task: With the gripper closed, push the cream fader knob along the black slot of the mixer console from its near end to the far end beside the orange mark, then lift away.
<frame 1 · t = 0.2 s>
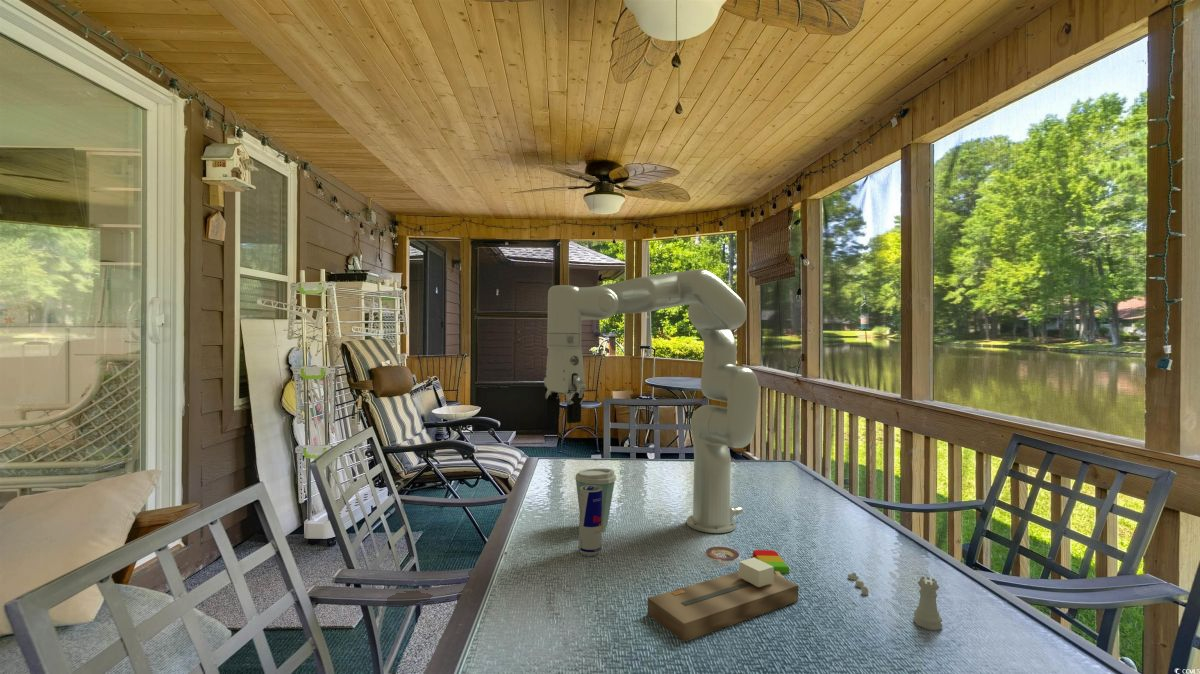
hand: (562, 419, 121), 31 cm above the table, tool pointing down, fingers open, 9 cm apart
popsicle: (773, 572, 118), on the table
rook chess piece: (927, 625, 96), on the table
game pieces: (858, 588, 111), on the table
disposable coffee cup: (594, 528, 141), on the table
console: (725, 607, 101), on the table
beverage can: (589, 553, 126), on the table
fader knob: (756, 571, 105), point 5 cm above the table, slide at -8.0 cm
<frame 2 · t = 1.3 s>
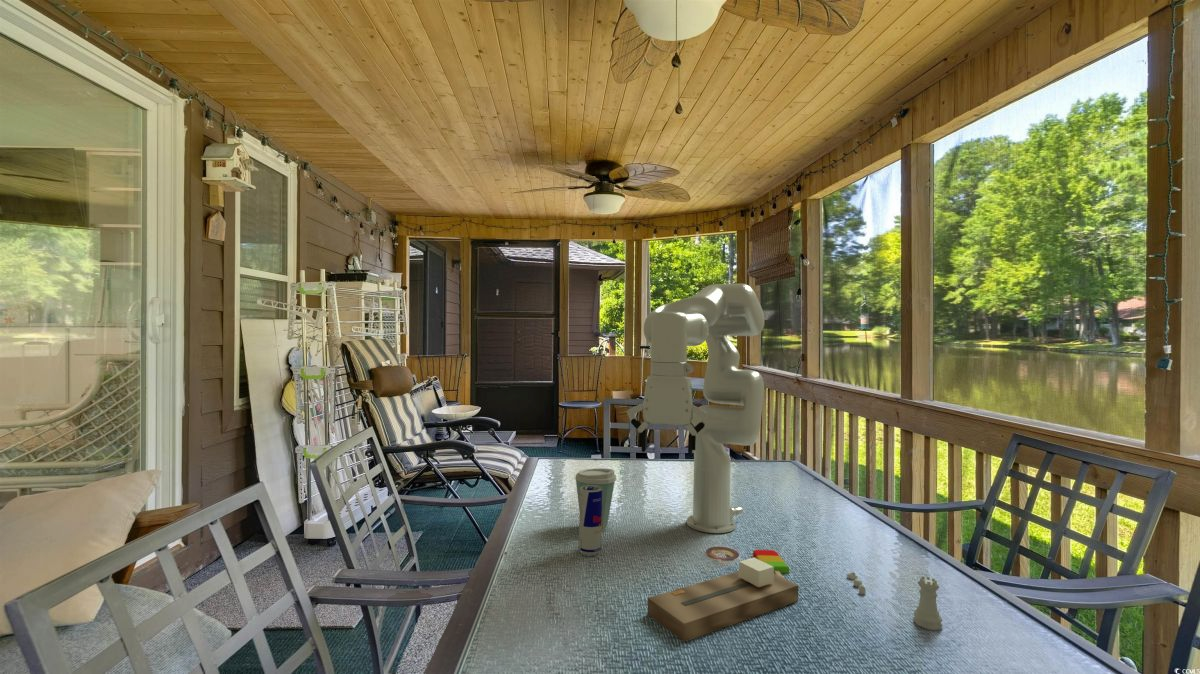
hand: (667, 452, 115), 25 cm above the table, tool pointing down, fingers open, 9 cm apart
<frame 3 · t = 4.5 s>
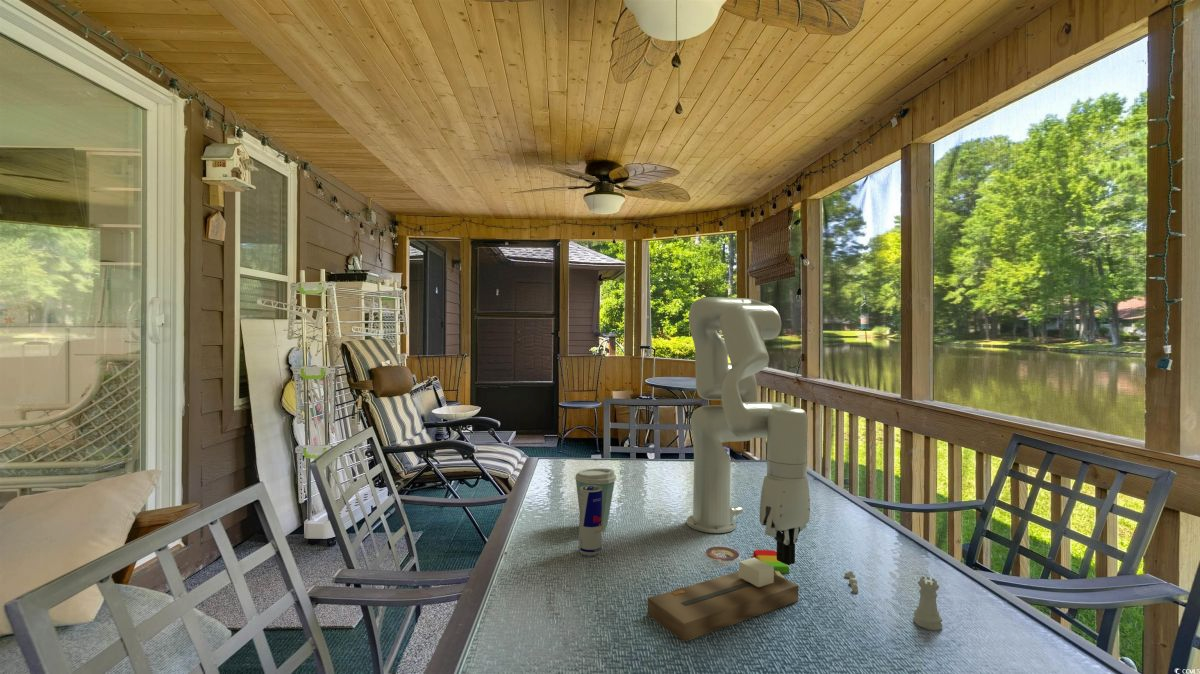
hand: (785, 561, 109), 5 cm above the table, tool pointing down, fingers closed
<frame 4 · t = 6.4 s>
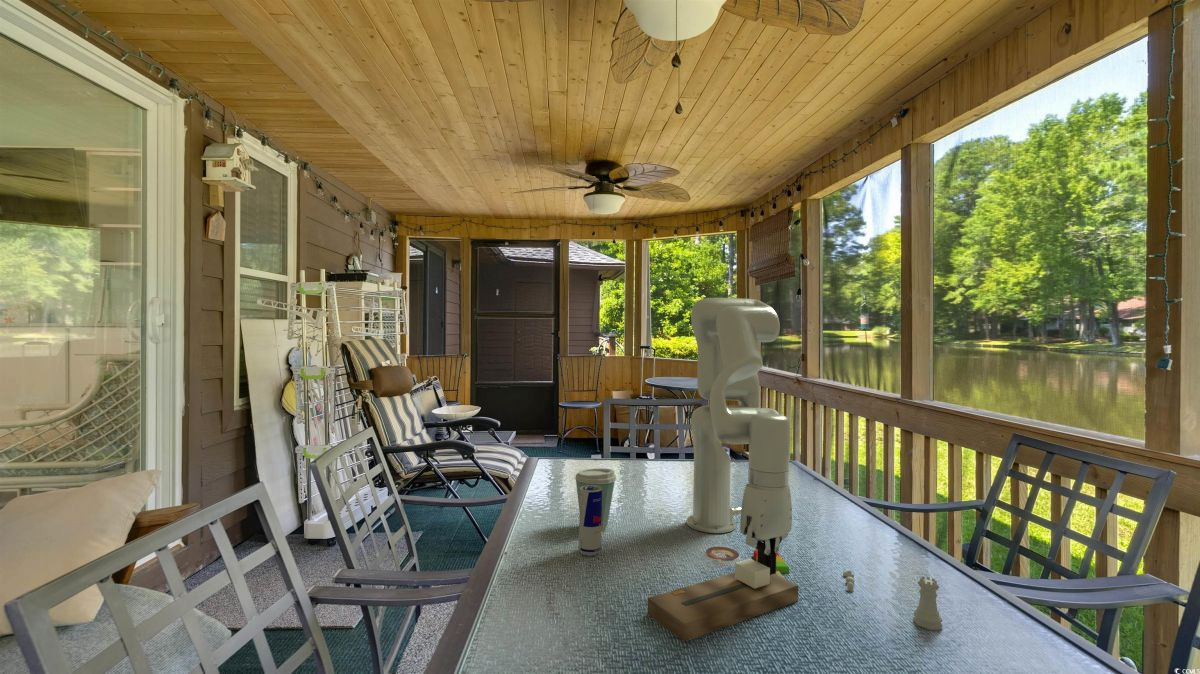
hand: (766, 571, 107), 4 cm above the table, tool pointing down, fingers closed
fader knob: (752, 573, 105), point 5 cm above the table, slide at -6.9 cm, touching gripper
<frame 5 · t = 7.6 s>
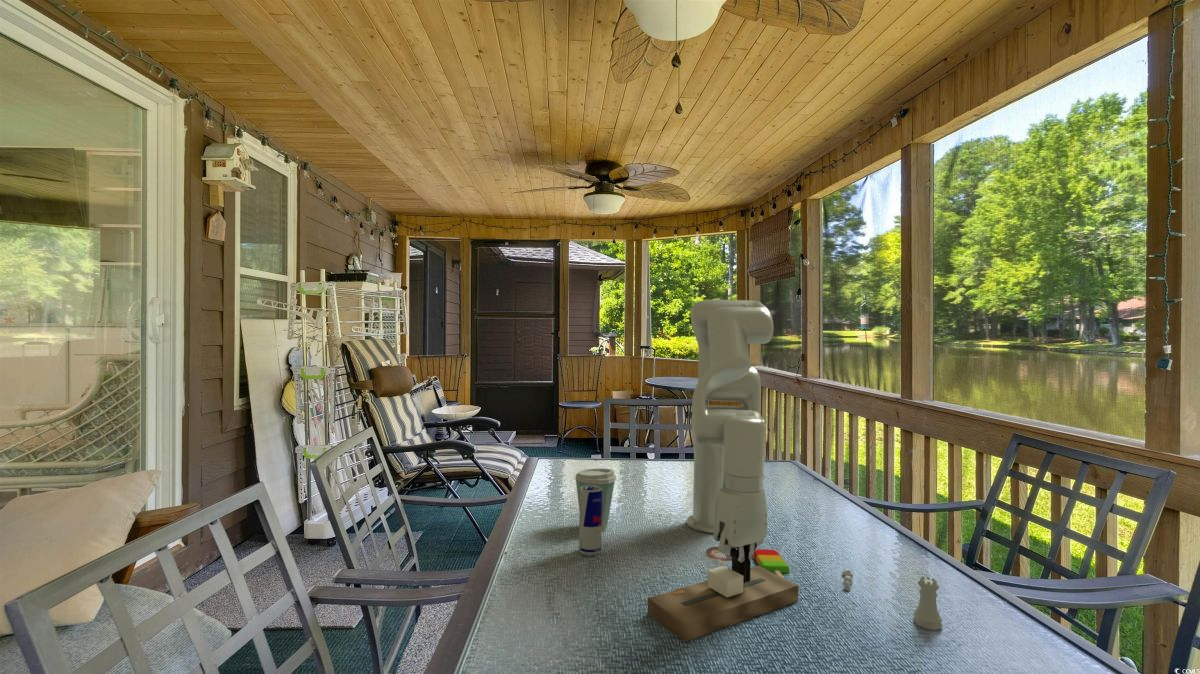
hand: (740, 579, 103), 4 cm above the table, tool pointing down, fingers closed
fader knob: (725, 581, 101), point 5 cm above the table, slide at 0.0 cm, touching gripper
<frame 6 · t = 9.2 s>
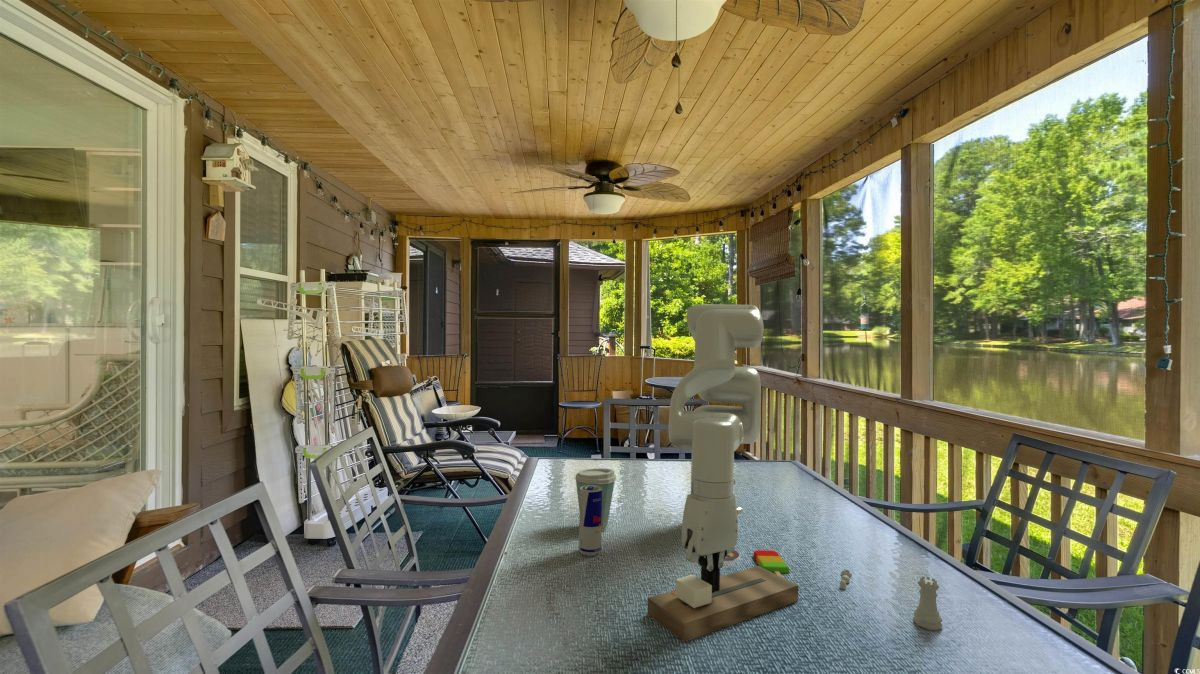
hand: (710, 588, 99), 4 cm above the table, tool pointing down, fingers closed
fader knob: (693, 590, 97), point 5 cm above the table, slide at 7.7 cm, touching gripper
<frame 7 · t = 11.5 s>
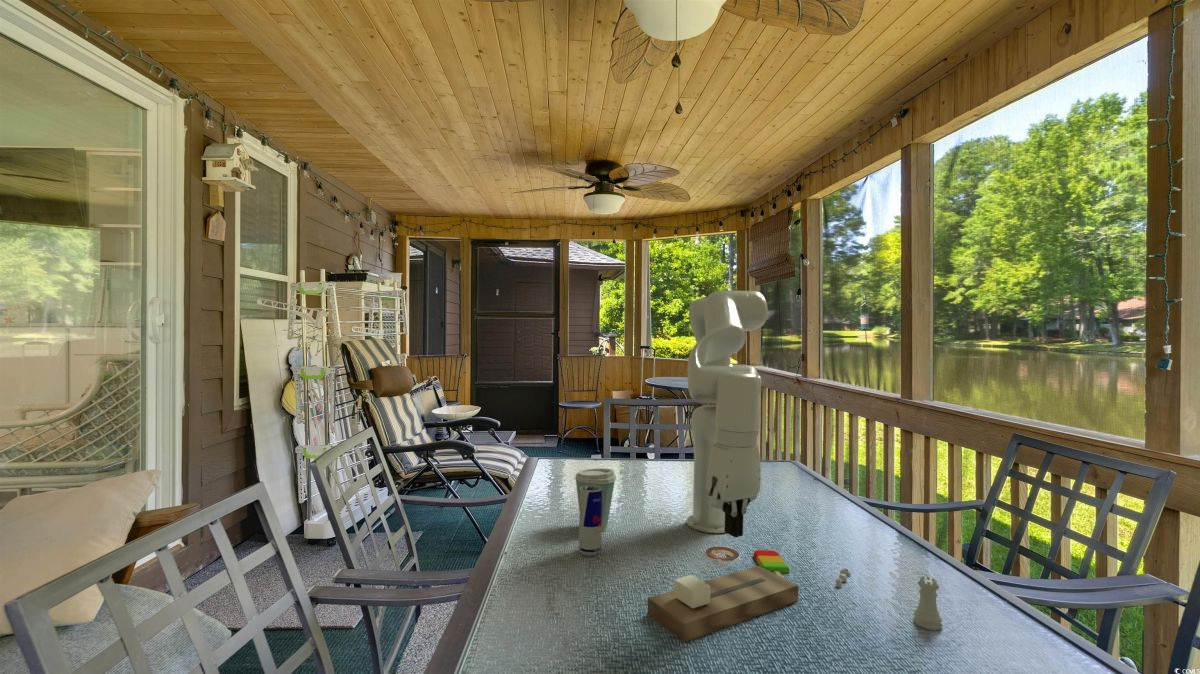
hand: (733, 533, 103), 13 cm above the table, tool pointing down, fingers closed
fader knob: (692, 591, 97), point 5 cm above the table, slide at 8.1 cm
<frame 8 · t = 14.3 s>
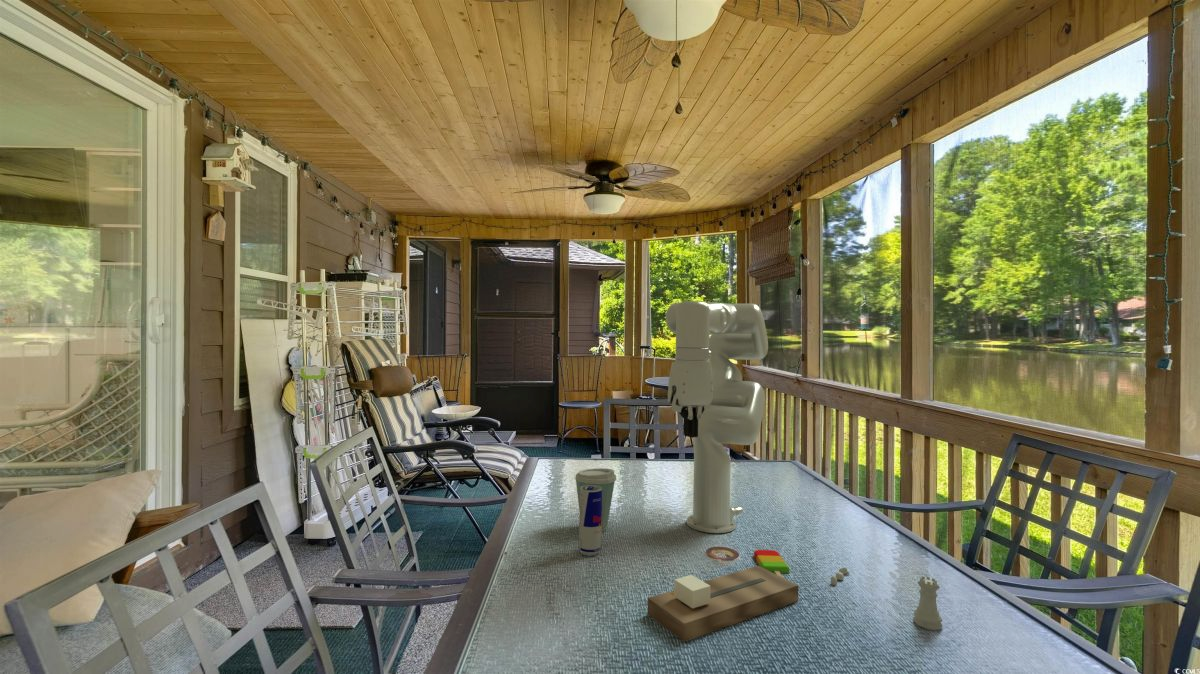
hand: (690, 436, 125), 27 cm above the table, tool pointing down, fingers closed
at the end: fader knob slide at 8.1 cm; the gripper is holding nothing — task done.
